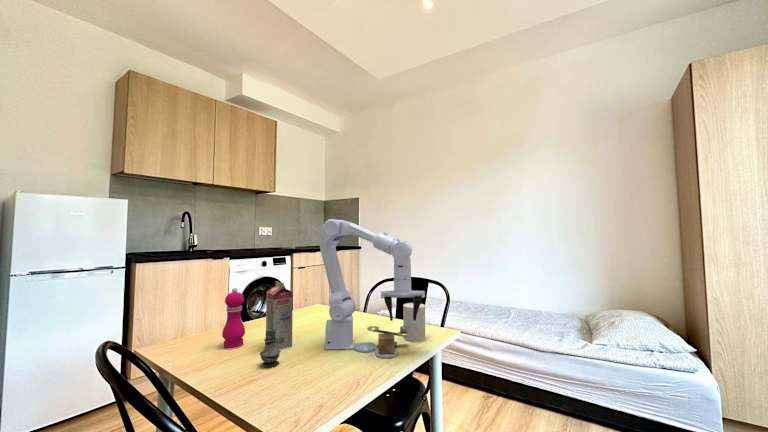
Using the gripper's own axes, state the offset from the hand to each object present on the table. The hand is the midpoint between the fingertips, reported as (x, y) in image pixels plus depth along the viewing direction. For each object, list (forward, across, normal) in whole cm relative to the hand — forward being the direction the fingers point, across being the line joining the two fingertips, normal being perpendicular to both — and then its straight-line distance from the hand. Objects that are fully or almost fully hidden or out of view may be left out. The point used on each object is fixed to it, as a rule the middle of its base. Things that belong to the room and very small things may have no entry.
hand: (402, 319), depth 103 cm
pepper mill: (+10, -59, +7) cm, 60 cm away
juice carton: (+10, -43, +6) cm, 44 cm away
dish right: (+10, -6, -2) cm, 12 cm away
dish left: (+10, -13, +3) cm, 17 cm away
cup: (+11, +5, +14) cm, 18 cm away
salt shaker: (+10, -41, -9) cm, 43 cm away
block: (+10, -6, -2) cm, 11 cm away
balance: (+10, -5, +6) cm, 13 cm away
